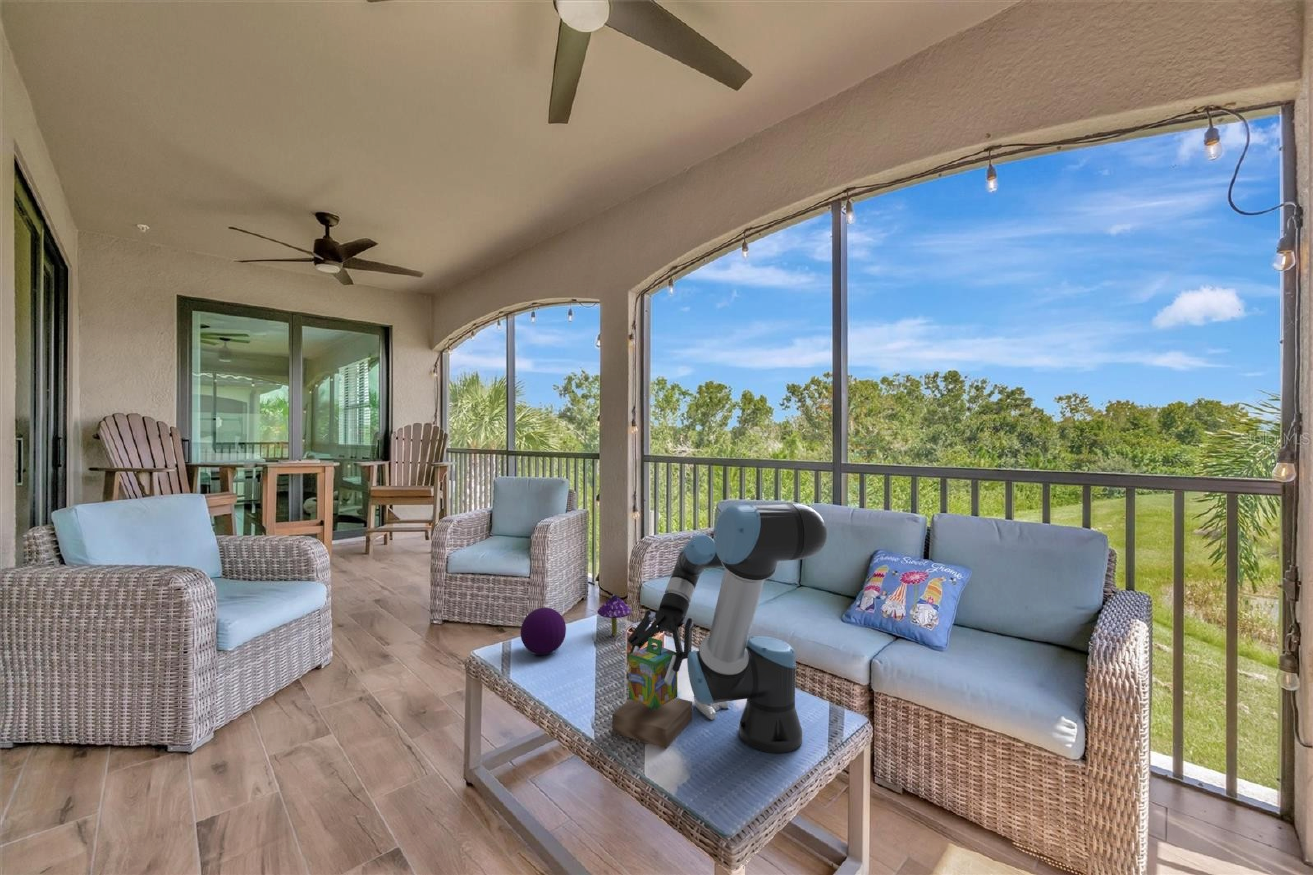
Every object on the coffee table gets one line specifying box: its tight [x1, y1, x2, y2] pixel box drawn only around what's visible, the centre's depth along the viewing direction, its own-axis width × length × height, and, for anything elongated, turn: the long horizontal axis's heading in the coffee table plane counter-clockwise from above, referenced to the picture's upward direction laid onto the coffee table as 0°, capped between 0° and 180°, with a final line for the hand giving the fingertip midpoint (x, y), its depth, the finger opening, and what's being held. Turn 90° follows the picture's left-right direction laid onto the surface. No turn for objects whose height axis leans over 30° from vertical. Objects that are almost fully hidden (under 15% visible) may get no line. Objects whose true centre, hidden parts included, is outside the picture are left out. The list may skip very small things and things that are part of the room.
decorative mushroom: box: [597, 594, 632, 637], centre depth 199 cm, size 12×12×15 cm
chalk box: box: [628, 637, 678, 710], centre depth 138 cm, size 9×9×15 cm
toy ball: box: [520, 607, 567, 656], centre depth 182 cm, size 15×15×15 cm
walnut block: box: [611, 697, 693, 750], centre depth 138 cm, size 15×15×5 cm
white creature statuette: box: [693, 695, 730, 720], centre depth 146 cm, size 10×9×12 cm
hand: (647, 677), depth 135 cm, fingers closed on chalk box, 10 cm apart
